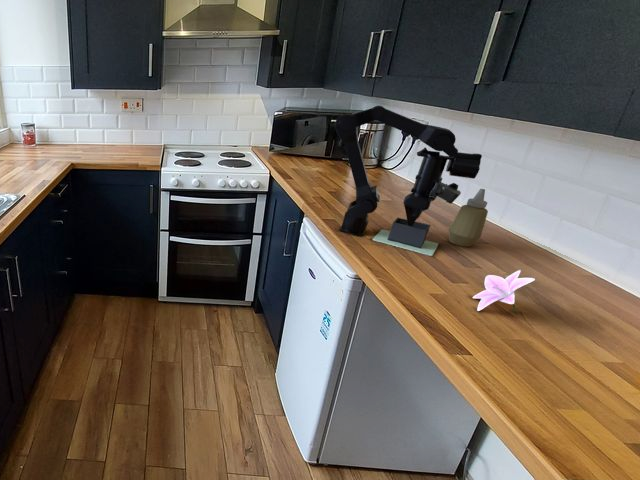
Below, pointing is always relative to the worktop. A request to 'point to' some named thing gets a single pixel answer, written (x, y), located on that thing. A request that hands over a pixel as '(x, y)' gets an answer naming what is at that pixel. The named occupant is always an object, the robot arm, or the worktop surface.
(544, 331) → the worktop surface
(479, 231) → the squeeze bottle
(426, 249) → the mat
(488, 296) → the lily
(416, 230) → the bin
